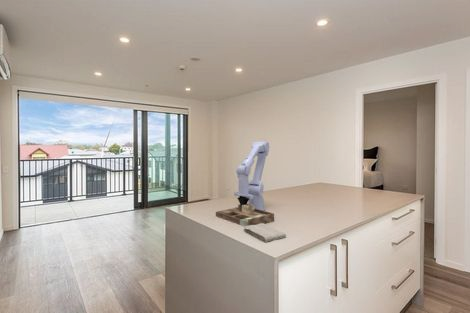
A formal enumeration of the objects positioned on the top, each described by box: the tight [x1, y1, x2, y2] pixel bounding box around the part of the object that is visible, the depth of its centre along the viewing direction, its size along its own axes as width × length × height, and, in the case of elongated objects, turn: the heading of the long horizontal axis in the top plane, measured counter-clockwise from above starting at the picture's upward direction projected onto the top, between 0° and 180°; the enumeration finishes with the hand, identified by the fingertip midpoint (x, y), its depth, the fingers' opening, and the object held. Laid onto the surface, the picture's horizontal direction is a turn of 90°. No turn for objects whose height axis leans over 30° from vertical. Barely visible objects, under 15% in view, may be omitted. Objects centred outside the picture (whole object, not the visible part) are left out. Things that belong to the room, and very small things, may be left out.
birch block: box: [242, 203, 254, 214], centre depth 140 cm, size 5×5×4 cm
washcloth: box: [243, 223, 287, 243], centre depth 111 cm, size 12×18×3 cm, turn 31°
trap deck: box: [215, 204, 275, 227], centre depth 136 cm, size 18×28×4 cm, turn 40°
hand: (243, 209), depth 143 cm, fingers closed
